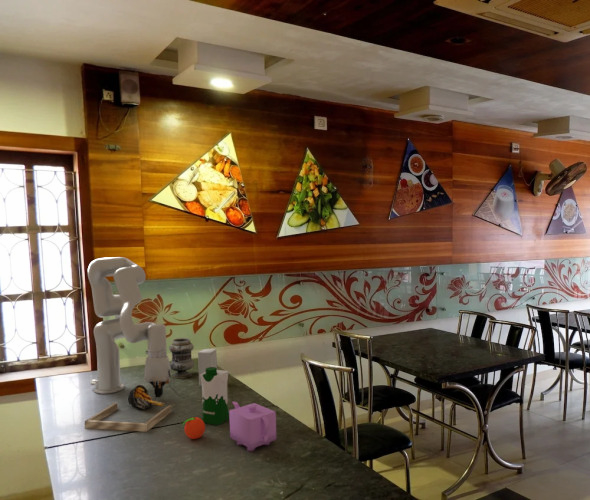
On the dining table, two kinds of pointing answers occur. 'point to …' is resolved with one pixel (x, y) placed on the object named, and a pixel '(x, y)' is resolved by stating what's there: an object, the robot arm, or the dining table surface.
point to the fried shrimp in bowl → (141, 398)
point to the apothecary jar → (181, 357)
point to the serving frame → (128, 426)
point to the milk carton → (214, 396)
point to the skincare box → (206, 361)
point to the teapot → (252, 425)
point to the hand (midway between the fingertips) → (158, 396)
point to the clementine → (194, 427)
